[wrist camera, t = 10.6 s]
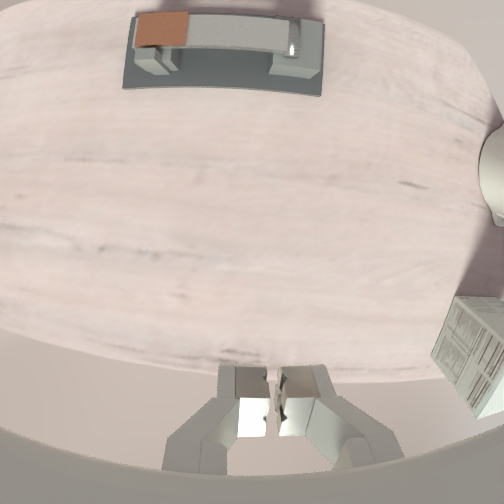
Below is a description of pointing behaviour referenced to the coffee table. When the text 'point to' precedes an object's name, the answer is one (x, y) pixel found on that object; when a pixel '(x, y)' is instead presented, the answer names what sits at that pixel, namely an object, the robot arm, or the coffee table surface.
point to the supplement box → (474, 352)
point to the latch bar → (217, 32)
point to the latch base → (230, 65)
